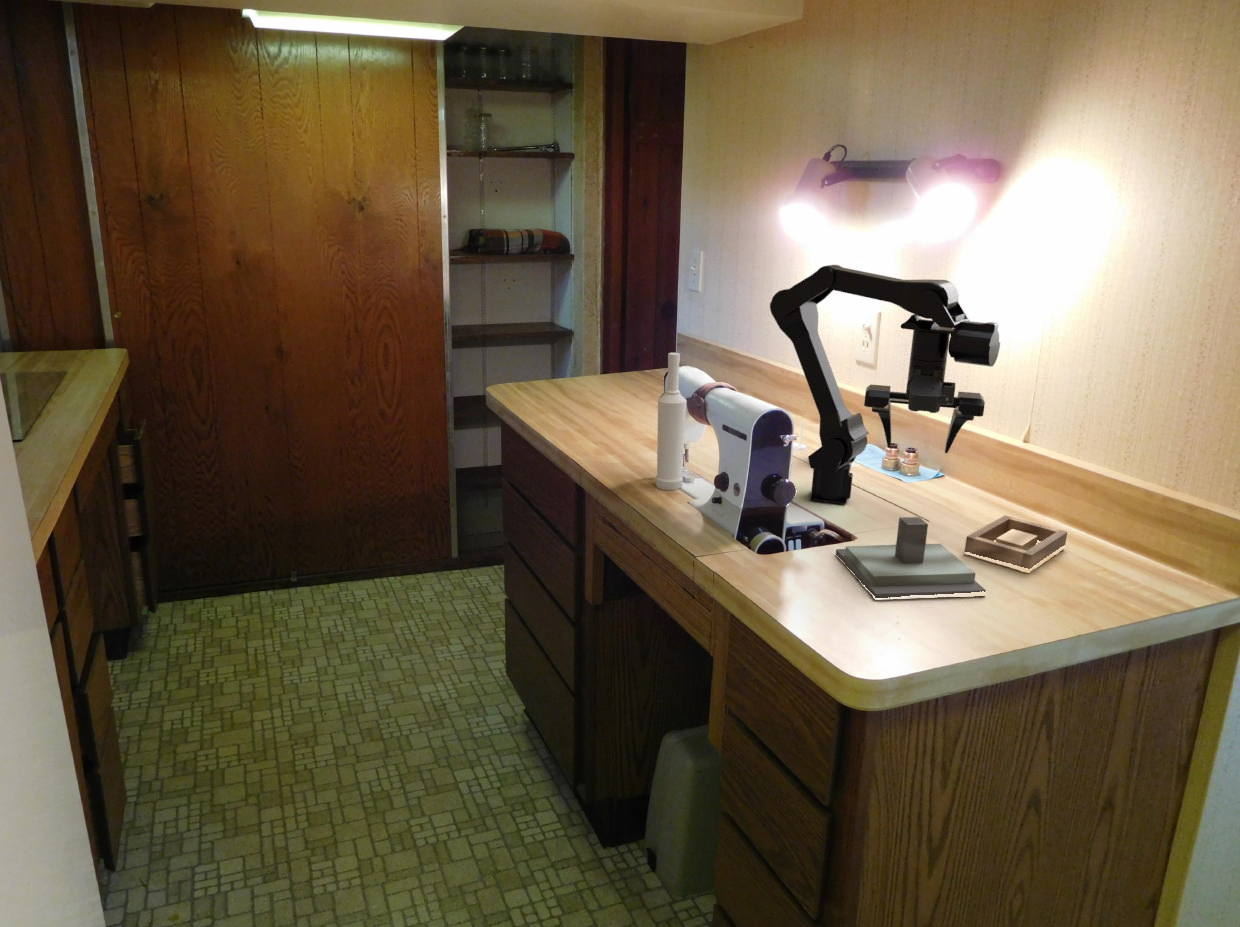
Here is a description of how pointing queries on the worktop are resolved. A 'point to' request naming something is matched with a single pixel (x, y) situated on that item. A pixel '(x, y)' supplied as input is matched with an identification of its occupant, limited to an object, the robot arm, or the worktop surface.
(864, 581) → the rubber mat
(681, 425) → the bottle
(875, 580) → the lid
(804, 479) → the worktop surface
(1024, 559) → the brown wooden flat frame
